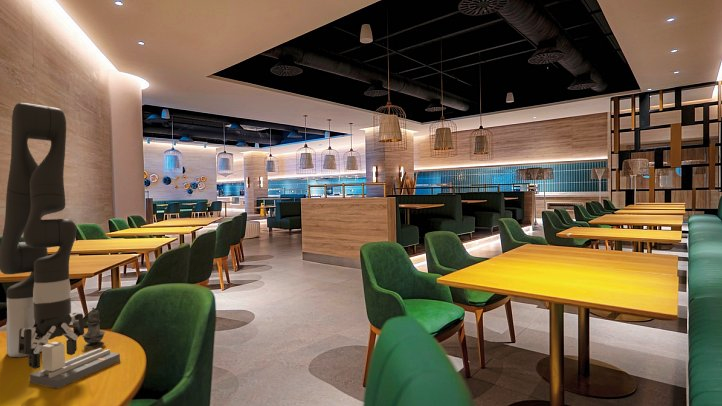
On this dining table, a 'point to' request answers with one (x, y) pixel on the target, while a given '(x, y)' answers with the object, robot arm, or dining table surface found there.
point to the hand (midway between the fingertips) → (53, 360)
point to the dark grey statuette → (93, 331)
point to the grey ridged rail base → (76, 368)
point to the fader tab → (53, 356)
